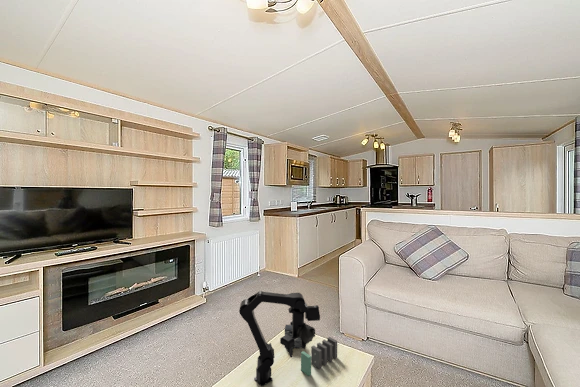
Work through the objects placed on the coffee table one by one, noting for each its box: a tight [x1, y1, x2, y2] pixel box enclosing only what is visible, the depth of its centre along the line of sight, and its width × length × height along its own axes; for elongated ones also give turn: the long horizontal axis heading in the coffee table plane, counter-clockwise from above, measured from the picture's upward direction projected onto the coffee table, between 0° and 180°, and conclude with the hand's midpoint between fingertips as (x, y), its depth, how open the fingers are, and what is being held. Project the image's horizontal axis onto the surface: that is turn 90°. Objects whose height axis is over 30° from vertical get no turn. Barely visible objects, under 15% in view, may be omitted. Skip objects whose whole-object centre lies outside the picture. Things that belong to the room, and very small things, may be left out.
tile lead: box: [300, 350, 312, 377], centre depth 129 cm, size 2×6×9 cm, turn 40°
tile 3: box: [316, 342, 328, 366], centre depth 136 cm, size 2×6×9 cm, turn 41°
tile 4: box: [321, 339, 333, 363], centre depth 139 cm, size 2×6×9 cm, turn 40°
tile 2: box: [310, 345, 323, 370], centre depth 133 cm, size 2×6×9 cm, turn 41°
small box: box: [284, 324, 303, 349], centre depth 152 cm, size 11×6×10 cm, turn 84°
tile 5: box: [326, 336, 338, 360], centre depth 142 cm, size 2×6×9 cm, turn 41°
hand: (297, 352), depth 125 cm, fingers open, 9 cm apart
